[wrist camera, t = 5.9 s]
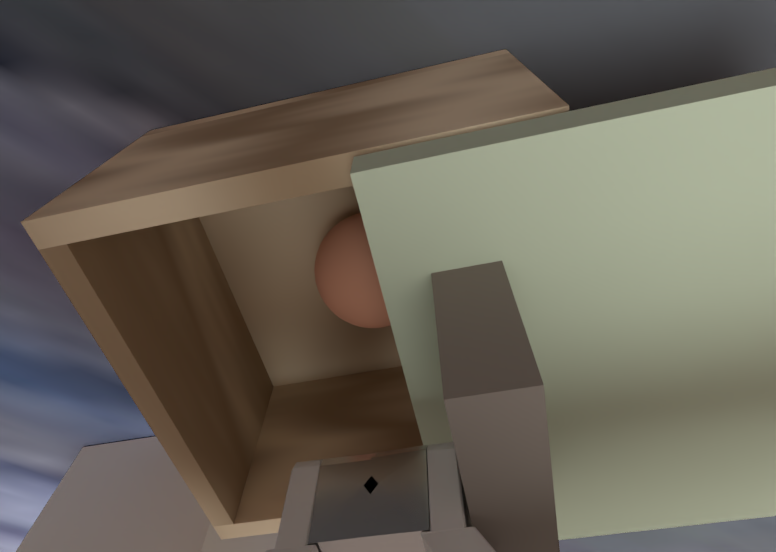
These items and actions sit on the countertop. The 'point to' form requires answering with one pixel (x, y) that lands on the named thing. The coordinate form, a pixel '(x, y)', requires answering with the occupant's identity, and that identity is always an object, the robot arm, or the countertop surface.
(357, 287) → the ball
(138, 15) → the countertop surface
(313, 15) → the countertop surface
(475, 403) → the lid
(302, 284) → the birch box
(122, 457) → the white open box
